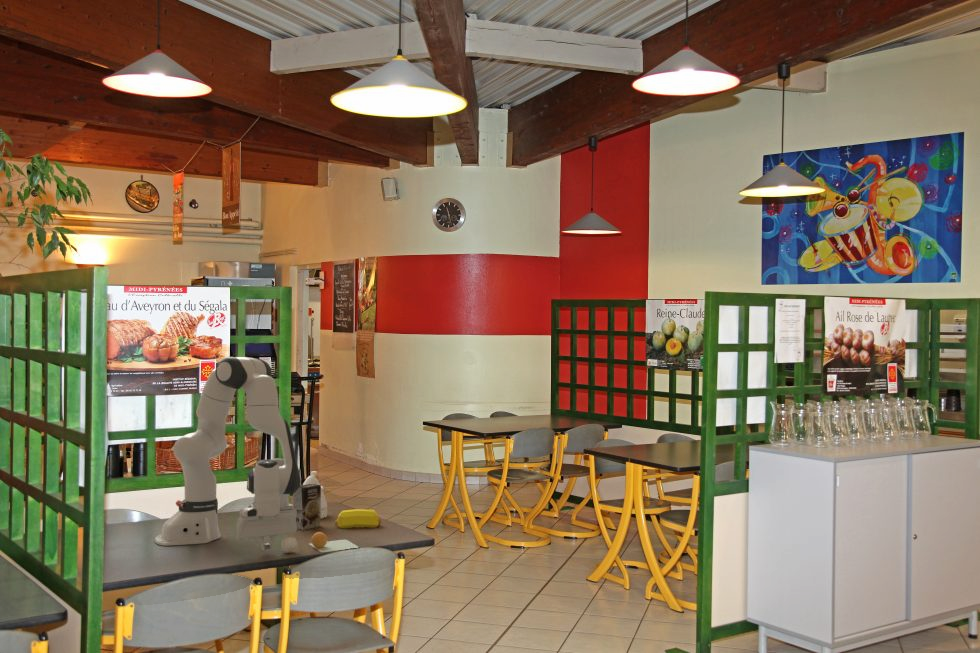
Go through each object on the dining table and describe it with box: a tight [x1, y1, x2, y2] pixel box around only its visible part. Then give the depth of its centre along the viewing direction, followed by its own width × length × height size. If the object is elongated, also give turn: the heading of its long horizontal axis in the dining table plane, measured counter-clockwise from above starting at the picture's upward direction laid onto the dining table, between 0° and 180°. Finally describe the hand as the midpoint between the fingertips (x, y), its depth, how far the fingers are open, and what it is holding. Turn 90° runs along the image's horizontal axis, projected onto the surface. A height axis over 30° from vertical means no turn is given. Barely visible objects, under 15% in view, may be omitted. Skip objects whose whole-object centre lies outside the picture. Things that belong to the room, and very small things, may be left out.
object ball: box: [310, 531, 328, 548], centre depth 314 cm, size 6×6×6 cm
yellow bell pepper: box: [334, 508, 382, 529], centre depth 349 cm, size 18×7×8 cm
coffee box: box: [292, 484, 322, 531], centre depth 347 cm, size 9×6×16 cm
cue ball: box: [280, 536, 298, 554], centre depth 307 cm, size 6×6×6 cm
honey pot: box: [302, 470, 328, 519], centre depth 367 cm, size 13×13×18 cm
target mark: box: [308, 539, 359, 554], centre depth 316 cm, size 14×14×1 cm
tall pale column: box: [268, 457, 290, 507], centre depth 378 cm, size 11×4×22 cm, turn 96°
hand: (266, 549), depth 305 cm, fingers closed
